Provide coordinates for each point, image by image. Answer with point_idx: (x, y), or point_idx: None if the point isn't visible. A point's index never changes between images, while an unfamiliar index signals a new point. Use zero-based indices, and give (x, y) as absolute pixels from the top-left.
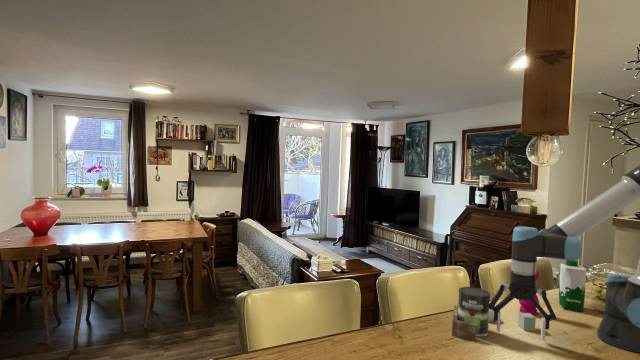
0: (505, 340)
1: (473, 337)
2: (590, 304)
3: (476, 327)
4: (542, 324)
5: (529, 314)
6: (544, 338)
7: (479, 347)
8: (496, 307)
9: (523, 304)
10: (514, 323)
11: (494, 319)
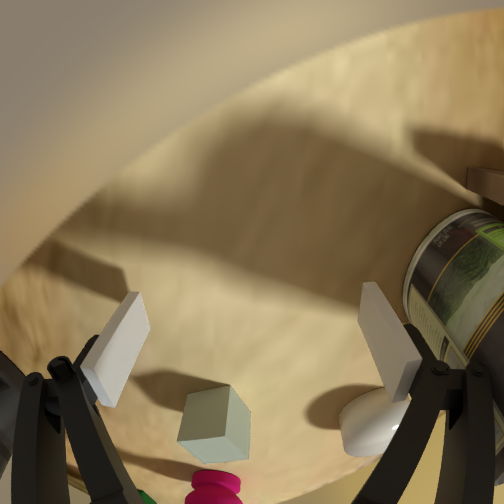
0: (329, 236)
1: (481, 168)
2: None
3: (489, 227)
4: (114, 357)
5: (204, 456)
6: (128, 295)
7: (454, 85)
8: (443, 393)
9: (229, 497)
10: (263, 422)
11: (414, 328)
